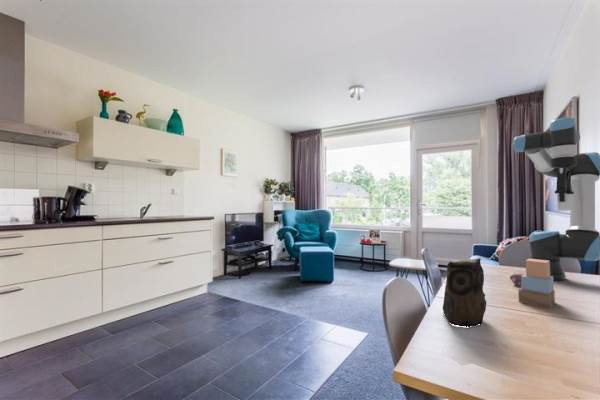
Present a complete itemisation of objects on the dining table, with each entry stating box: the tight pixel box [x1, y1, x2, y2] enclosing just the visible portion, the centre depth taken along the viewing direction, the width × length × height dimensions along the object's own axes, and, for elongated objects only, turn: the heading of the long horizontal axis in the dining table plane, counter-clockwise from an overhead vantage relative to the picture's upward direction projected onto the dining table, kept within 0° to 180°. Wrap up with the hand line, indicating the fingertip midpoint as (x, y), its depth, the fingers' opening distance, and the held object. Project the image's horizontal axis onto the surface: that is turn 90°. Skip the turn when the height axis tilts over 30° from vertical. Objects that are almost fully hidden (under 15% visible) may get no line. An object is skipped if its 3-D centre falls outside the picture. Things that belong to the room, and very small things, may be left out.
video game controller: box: [509, 272, 525, 287], centre depth 129 cm, size 10×5×7 cm, turn 26°
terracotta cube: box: [525, 258, 550, 279], centre depth 108 cm, size 6×6×6 cm
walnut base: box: [518, 287, 556, 309], centre depth 108 cm, size 9×9×5 cm
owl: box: [442, 257, 487, 327], centre depth 90 cm, size 13×13×20 cm
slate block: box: [520, 273, 555, 294], centre depth 108 cm, size 8×8×5 cm
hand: (565, 210), depth 114 cm, fingers open, 13 cm apart
